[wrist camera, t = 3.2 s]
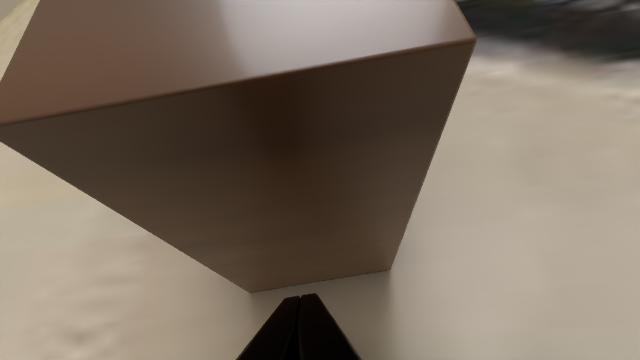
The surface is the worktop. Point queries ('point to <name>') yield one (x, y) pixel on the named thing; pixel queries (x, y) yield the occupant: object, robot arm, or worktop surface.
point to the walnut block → (243, 122)
